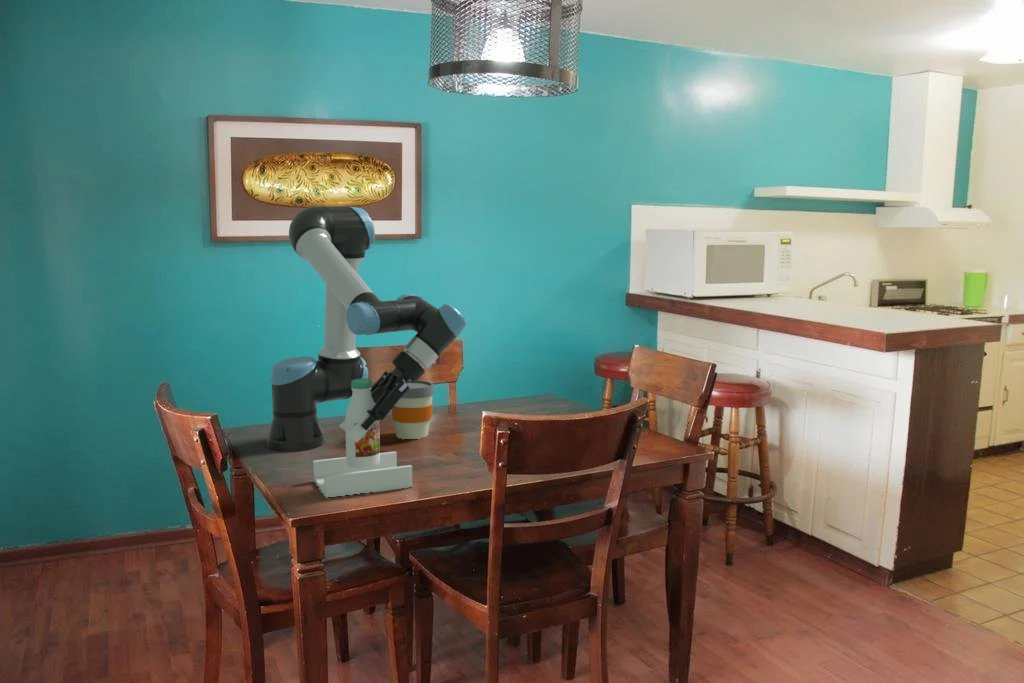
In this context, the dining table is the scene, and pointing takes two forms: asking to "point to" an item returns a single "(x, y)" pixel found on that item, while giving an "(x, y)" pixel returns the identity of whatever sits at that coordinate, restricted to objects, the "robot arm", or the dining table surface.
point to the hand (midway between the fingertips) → (347, 434)
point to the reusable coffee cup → (414, 410)
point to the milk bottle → (369, 445)
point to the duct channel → (360, 476)
